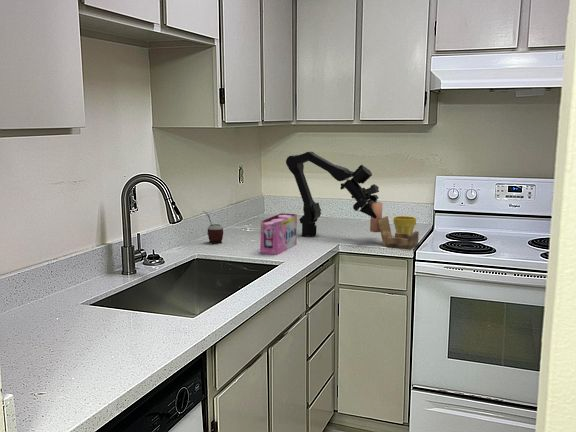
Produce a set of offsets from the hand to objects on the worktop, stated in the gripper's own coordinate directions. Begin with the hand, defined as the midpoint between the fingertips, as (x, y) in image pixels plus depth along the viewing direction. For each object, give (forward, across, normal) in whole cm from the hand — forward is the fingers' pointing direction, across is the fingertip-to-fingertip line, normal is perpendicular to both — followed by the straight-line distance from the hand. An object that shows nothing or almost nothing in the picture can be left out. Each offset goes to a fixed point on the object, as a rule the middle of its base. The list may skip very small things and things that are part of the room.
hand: (378, 216), depth 251 cm
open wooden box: (+17, 0, 0) cm, 17 cm away
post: (+4, 0, +5) cm, 7 cm away
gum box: (-14, -32, +32) cm, 47 cm away
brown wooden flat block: (+11, 0, +6) cm, 13 cm away
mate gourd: (-35, -37, +54) cm, 74 cm away
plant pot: (+14, +18, +3) cm, 22 cm away
